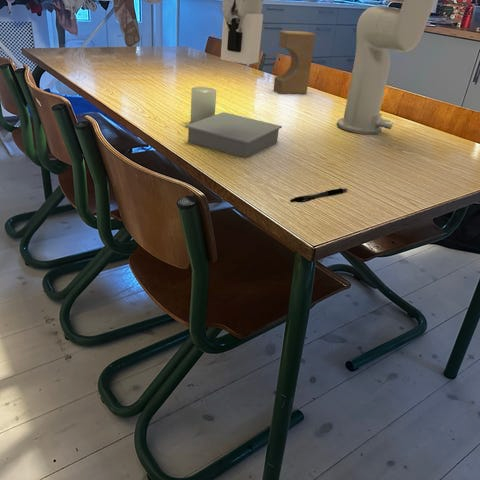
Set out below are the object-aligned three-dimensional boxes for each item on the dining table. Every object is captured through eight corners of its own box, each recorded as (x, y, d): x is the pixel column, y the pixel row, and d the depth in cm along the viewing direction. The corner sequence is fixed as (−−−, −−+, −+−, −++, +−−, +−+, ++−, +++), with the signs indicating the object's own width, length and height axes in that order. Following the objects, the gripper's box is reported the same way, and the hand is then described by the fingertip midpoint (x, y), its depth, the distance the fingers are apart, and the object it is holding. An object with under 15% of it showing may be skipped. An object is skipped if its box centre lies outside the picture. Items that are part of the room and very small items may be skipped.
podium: (279, 141, 121) (281, 126, 119) (246, 159, 108) (248, 141, 106) (222, 127, 128) (223, 112, 126) (185, 141, 115) (185, 125, 113)
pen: (293, 206, 90) (294, 202, 89) (288, 201, 91) (290, 196, 90) (349, 195, 96) (351, 191, 95) (344, 190, 97) (346, 185, 96)
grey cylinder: (218, 124, 130) (220, 90, 126) (205, 129, 125) (207, 94, 121) (199, 119, 133) (200, 85, 128) (185, 123, 128) (186, 89, 123)
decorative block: (279, 94, 168) (286, 32, 158) (272, 90, 173) (279, 30, 163) (307, 94, 172) (316, 34, 162) (300, 90, 176) (308, 31, 167)
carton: (232, 57, 112) (235, 10, 107) (258, 62, 109) (263, 14, 104) (220, 59, 108) (223, 10, 103) (247, 64, 105) (252, 14, 100)
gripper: (252, -43, 107) (244, 45, 116) (210, -49, 93) (205, 50, 102) (282, -40, 104) (272, 50, 113) (243, -46, 90) (235, 56, 99)
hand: (240, 49), depth 107 cm, fingers closed on carton, 5 cm apart
